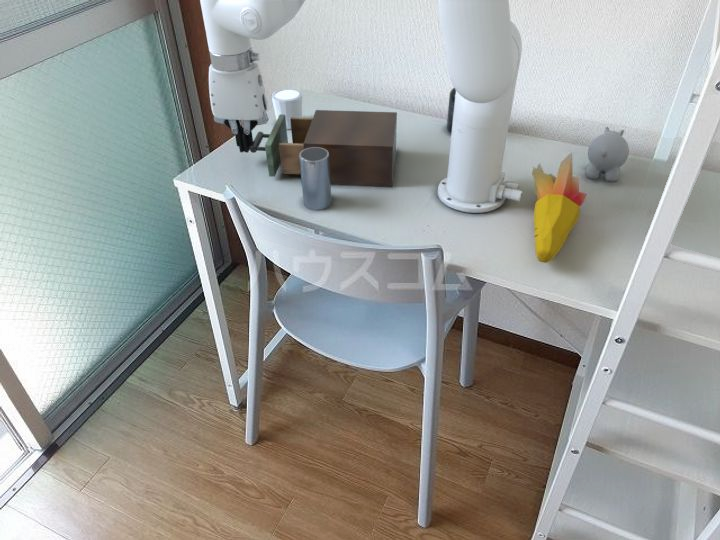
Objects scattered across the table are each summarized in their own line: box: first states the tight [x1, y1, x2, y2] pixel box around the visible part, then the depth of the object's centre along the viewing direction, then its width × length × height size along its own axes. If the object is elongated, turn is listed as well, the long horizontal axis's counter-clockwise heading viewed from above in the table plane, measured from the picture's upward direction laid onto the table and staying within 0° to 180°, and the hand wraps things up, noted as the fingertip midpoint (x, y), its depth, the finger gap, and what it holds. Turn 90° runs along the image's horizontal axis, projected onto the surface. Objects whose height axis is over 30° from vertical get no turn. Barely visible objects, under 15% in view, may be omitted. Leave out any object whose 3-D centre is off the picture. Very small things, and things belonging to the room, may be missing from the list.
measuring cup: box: [299, 147, 333, 211], centre depth 103 cm, size 6×5×10 cm
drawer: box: [249, 114, 313, 177], centre depth 115 cm, size 20×13×7 cm
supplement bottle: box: [446, 87, 456, 134], centre depth 125 cm, size 7×7×12 cm
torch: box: [531, 151, 588, 264], centre depth 97 cm, size 8×8×25 cm
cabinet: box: [303, 109, 398, 188], centre depth 114 cm, size 17×15×9 cm
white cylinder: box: [271, 88, 303, 130], centre depth 130 cm, size 7×7×7 cm
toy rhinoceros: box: [584, 126, 630, 183], centre depth 112 cm, size 7×12×8 cm, turn 153°
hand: (245, 149), depth 117 cm, fingers closed
